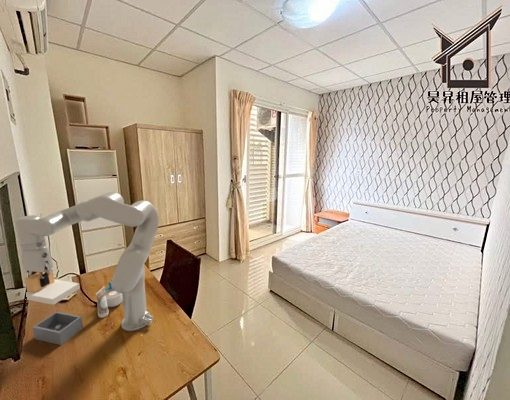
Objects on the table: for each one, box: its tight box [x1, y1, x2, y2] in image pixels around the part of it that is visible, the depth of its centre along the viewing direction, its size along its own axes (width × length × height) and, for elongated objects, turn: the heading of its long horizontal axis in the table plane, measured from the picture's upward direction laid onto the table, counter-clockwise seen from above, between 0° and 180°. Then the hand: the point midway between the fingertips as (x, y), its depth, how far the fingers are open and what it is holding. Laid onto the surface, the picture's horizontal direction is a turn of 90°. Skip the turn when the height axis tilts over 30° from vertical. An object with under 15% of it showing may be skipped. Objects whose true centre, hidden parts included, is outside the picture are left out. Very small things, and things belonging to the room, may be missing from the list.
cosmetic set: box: [95, 285, 123, 318], centre depth 121 cm, size 25×9×19 cm, turn 1°
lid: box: [24, 271, 81, 305], centre depth 98 cm, size 15×11×8 cm
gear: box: [105, 279, 113, 292], centre depth 132 cm, size 11×6×10 cm
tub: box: [32, 311, 84, 346], centre depth 102 cm, size 14×10×6 cm
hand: (40, 284), depth 99 cm, fingers closed on lid, 4 cm apart
